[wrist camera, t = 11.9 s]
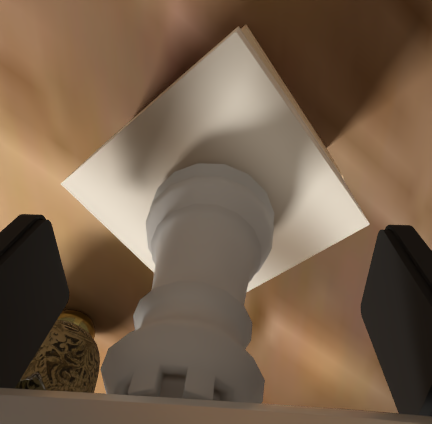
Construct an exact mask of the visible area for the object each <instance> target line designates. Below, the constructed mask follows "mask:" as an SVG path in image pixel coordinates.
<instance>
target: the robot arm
mask: <svg viewBox="0 0 432 424" xmlns="http://www.w3.org/2000/svg"><path fill="white" fill-rule="evenodd" d="M68 299H69V289H68V285H67V281H66V278H65V274H64V270H63V266H62V262H61V258H60V255H59V251H58V247H57V243H56V239H55V235H54V232H53V228H52V224H51V222H50V221H49V220H46V219H45V217H44V216H43V215H30V214H21V215H19V216H18V217H17V218H16V219H15V220H13V221H12V222H11V223H10V224H9V225H8V226H7V227H6V228H5V229H3V230H2V231H1V232H0V424H432V251H431V250H430V248H429V247H428V246H427V244H426V243H425V242H424V241H423V239H422V238H421V237H420V235H419V234H418V233H417V232H416V230H415V229H414V228H413V227H412V226H410V225H388V226H387V227H386V228H385V230H380V231H379V233H378V236H377V240H376V244H375V248H374V253H373V257H372V261H371V265H370V269H369V273H368V277H367V281H366V286H365V290H364V294H363V298H362V302H361V315H362V318H363V321H364V323H365V326H366V329H367V331H368V334H369V336H370V339H371V342H372V344H373V347H374V349H375V352H376V355H377V357H378V360H379V363H380V365H381V368H382V370H383V373H384V376H385V378H386V381H387V383H388V386H389V389H390V391H391V394H392V397H393V399H394V402H395V404H396V407H397V410H398V412H399V414H397V413H385V412H373V411H361V410H349V409H334V408H320V407H305V406H290V405H275V404H260V403H246V402H230V401H215V400H199V399H183V398H167V397H150V396H134V395H118V394H101V393H83V392H66V391H48V390H30V389H15V387H16V386H17V384H18V382H19V381H20V379H21V378H22V376H23V374H24V373H25V371H26V369H27V368H28V366H29V365H30V363H31V361H32V360H33V358H34V356H35V355H36V353H37V352H38V350H39V348H40V347H41V345H42V343H43V342H44V340H45V339H46V337H47V335H48V334H49V332H50V330H51V329H52V327H53V325H54V324H55V322H56V321H57V319H58V317H59V316H60V314H61V312H62V311H63V309H64V308H65V306H66V304H67V302H68Z"/></svg>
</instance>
